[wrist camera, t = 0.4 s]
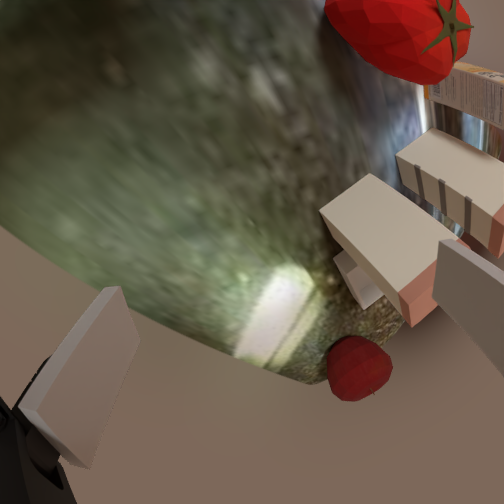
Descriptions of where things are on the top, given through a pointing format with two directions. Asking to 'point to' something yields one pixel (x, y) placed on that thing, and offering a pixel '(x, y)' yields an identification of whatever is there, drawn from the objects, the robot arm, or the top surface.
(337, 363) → the apple
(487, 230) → the block
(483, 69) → the supplement box
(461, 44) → the tomato
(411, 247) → the stub
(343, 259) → the tray
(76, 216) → the top surface
